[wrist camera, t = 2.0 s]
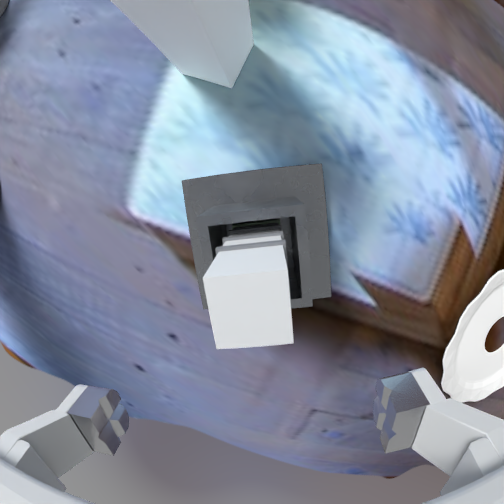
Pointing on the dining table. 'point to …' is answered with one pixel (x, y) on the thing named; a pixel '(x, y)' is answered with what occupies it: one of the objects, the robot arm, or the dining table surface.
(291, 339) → the column
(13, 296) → the dining table surface
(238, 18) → the milk
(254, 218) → the stand
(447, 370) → the plate
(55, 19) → the dining table surface
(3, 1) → the coffeepot
